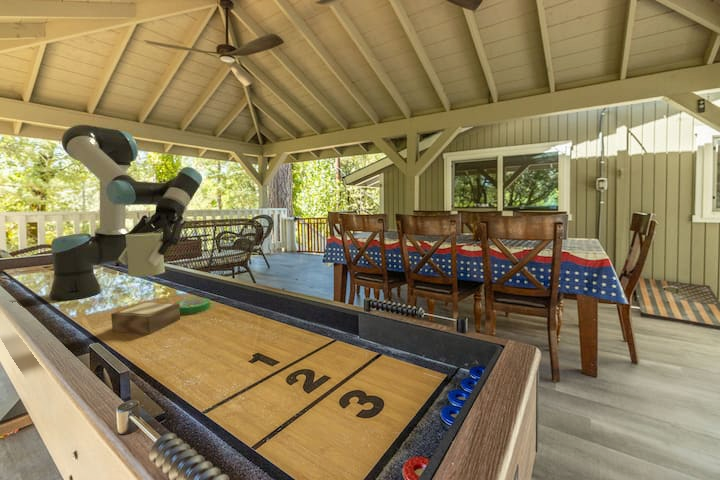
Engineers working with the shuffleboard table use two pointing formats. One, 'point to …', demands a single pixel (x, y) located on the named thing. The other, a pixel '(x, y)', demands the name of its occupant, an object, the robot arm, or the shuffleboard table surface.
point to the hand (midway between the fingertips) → (137, 262)
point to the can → (143, 254)
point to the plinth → (145, 317)
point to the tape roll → (197, 303)
